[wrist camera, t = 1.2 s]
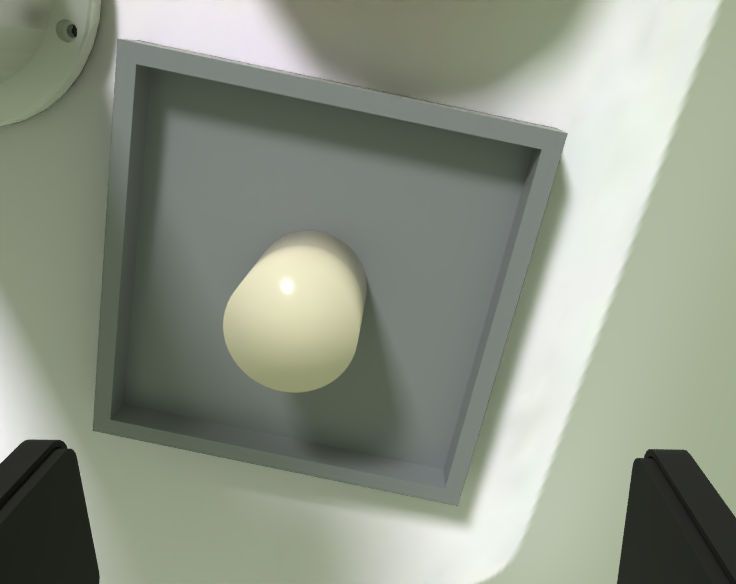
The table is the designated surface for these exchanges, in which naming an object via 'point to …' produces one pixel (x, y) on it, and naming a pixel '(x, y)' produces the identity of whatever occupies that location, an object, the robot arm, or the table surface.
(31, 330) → the table surface
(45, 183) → the table surface
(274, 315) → the egg
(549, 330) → the table surface
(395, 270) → the tray
